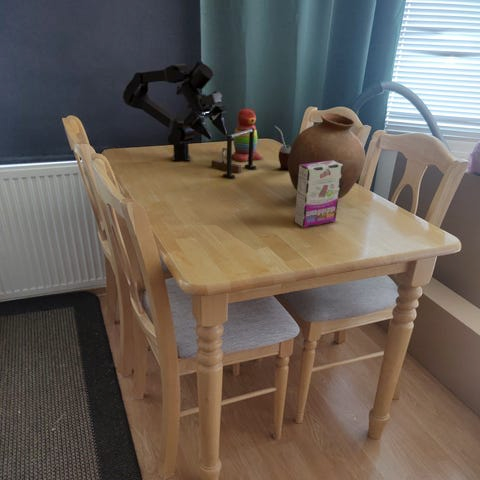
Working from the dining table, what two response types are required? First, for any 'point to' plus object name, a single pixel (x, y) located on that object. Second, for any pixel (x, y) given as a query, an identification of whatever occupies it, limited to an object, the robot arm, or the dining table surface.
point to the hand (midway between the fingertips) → (218, 136)
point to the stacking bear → (245, 136)
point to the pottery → (329, 149)
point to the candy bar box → (317, 193)
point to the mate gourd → (284, 153)
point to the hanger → (225, 164)
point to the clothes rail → (229, 151)
